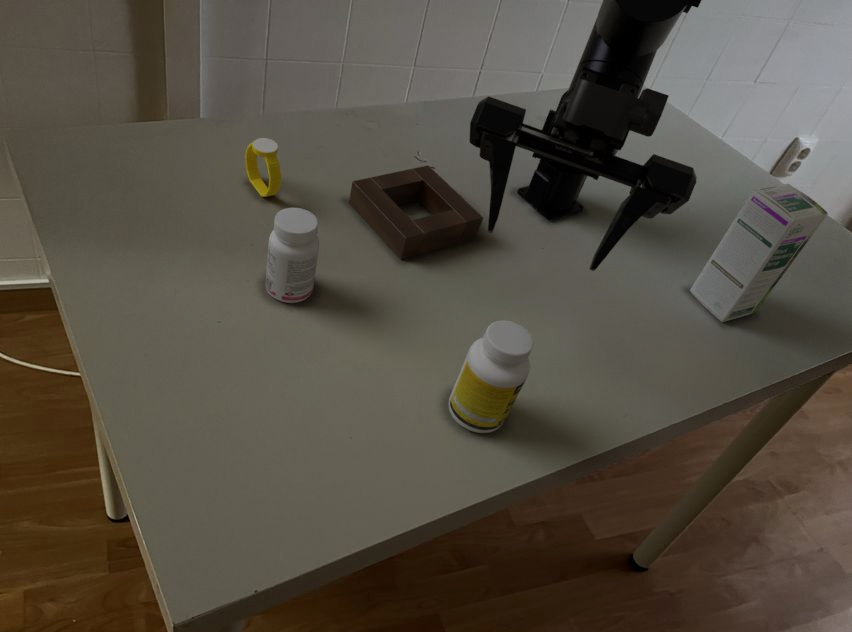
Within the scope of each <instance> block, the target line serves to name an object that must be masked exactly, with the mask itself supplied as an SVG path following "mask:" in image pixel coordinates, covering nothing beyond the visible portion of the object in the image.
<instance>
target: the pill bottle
mask: <svg viewBox="0 0 852 632" xmlns="http://www.w3.org/2000/svg"><path fill="white" fill-rule="evenodd" d="M318 230H319V220H318V218H317V217H316V215H315V214H314V213H313V212H311V211H309V210H307V209H304V208H301V207H286V208H283V209H281V210H279V211H278V212H277V213H276V214H275V216H274V223H273V230H271V233H270V235H269V238H268V244H267V245H268V247H267V259H266V270H265V271H266V272H265V289H266V292H267V293H268V294H269V295H270V296H271V297H272V298H273V299H275V300H277V301H279V302H283V303H288V304H297V303H300V302H303V301H305V300H307V299H308V298H309V297H310V296H311V295H312V293H313V290H314V285H315V279H316V272H317V265H318V264H317V263H318V256H319V251H320V239H319V237H318Z"/></svg>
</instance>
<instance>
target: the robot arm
mask: <svg viewBox="0 0 852 632" xmlns="http://www.w3.org/2000/svg"><path fill="white" fill-rule="evenodd" d="M701 3H702V0H602V2H601V5H600V8H599V10H598V12H597V17H596V18H595V21H594V24H593V27H592V29H591V32H590V34H589V36H588V39H587V42H586V44H585V46H584V49H583V52H582V54H581V56H580V60H579V61H578V65H577V67H576V69H575V72H574V75H573V77H572V79H571V82H570V85H569V87H568V89H567V90H566V91H565V92H564V93H563V94H562V95H561V96H560V97H561V98H560V100H559V102H558V104H557V106H556V110H554V109H549V111H548V114H547V116H546V118H545V121H544V124H543V125H542V128H541V129H540V128H537V127H535V126H532V125H529V124H527V123H524V121H525V117H526V113H527V109H526V108H523V107H520V106H518V105H515V104H511V103H509V102H506V101H503V100H500V99H497V98H494V97H491V96H486V97H484V98H483V99H481V100H480V101H478V104H477V105H476V108H475V110H474V113H473V115H472V118H471V120H470V123H469V144H471V145H472V146H473V147H475V148H478V149H479V157H480V158H481V159H483V160H485V161H487V162H488V163H489V176H490V177H489V178H490V179H489V180H490V197H489V198H490V199H489V201H490V202H489V210H488V211H489V212H488V222H487V223H488V224H487V233H489V234H493V232H494V230H495V227H496V225H497V222H498V219H499V216H500V212H501V208H502V203H503V199H504V196H505V193H506V192H505V191H506V188H507V183H508V180H509V175H510V171H511V167H512V164H513V160H514V155H515V151H516V148H519V149H523V150H526V151H529V152H532V156H531V157H532V158H534V159H539V162H538V164H537V166H536V169H535V170H534V171H533V175H532V176H531V179H530V182H529V185H525V186H522V187H519V188H518V189H517V192H516V193H517V194H518V195H519V196H520V197H521V198H522V199H524V201H525V202H527V203H528V204H529V205H530V206H531V207H532V208H534V209H535V210H536V211H537V212H538V213H539V214H540V215H541V216H543V217H544V218H545V219H546V220H548V221H554V220H557V219H560V218H563V217H568V216H571V215H574V214H577V213H581V212H583V211H584V209H585V206H584V205H583V204H582V203H581V202H579V201H578V200H577V199H578V198H579V195H580V194H581V191H582V188H583V186H584V184H585V182H586V180H587V178H588V177H589V178H592V179H593V180H595V181H598V180H599V178H600V177H602V178H605V179H608V180H610V181H613V182H616V183H619V184H621V185H624V186H627V187H630V190H629V193H628V194H629V195H628V196H627V197H626V198H625V199H624V200H623V201H622V202H621V203H620V205H619V207H618V209H617V211H616V213H615V214H614V216H613V218H612V221H611V223H610V224H609V225H608V228H607V230H606V231H605V234H604V236H603V238H602V239H601V241H600V243H599V245H598V247H597V249H596V250H595V253H594V255H593V257H592V260H591V263H590V266H589V271H592V272H594V271H596V270H597V268H598V267H599V266H600V265H601V264H602V262H603V261H604V260H605V259H606V257H607V256H608V255H609V254H610V252H611V251H612V250H613V249H614V248H615V247H616V246H617V244H618V243H619V241H620V240H621V239H622V238H623V236H624V235H625V234H626V233H627V232H628V231H629V230H630V229H631V227H632V226H633V225H635V224H636V222H637V221H639V220H640V219H641V218H646V219H651V220H652V219H654V218H656V216H658V215H659V214H663V215H672V214H673V213H674V212H676V211H677V210H679V209H680V208H681V207H683V206H684V205H685V204H687V203H688V202H689V201H690V199H691V196H692V195H693V191H694V188H695V186H696V184H697V175H696V172H695V169H694V167H692V166H689V165H686V164H684V163H680V162H678V161H675V160H672V159H669V158H666V157H663V156H660V155H658V154H655V153H652V155H651V156H650V157H649V159H647V160H646V162H645V163H644V164H643V165H642V164H641V163H637V162H634V161H631V160H629V159H625V158H623V157H620V156H617V153H618V151H621V150H622V149H623V148H624V145H625V143H626V140H627V138H628V135H629V133H630V132H633V133H636V134H639V135H641V136H645V137H648V138H649V137H652V136H653V135H654V133H655V131H656V128H657V126H658V125H659V122H660V120H661V117H662V115H663V113H664V110H665V107H666V105H667V102H668V100H669V97H670V95H669V94H666V93H663V92H660V91H657V90H654V89H651V88H648V87H647V88H645V89H643V87H644V84H645V82H646V80H647V77H648V74H649V72H650V70H651V67H652V64H653V62H654V59H655V57H656V54H657V52H658V50H659V49H660V48H661V47H662V46H663V45H664V43H665V42H666V40H667V39H668V37H669V35H670V34H671V32H672V30H673V28H674V27H675V26H676V24H677V22H678V20H679V19H680V17H681V16H682V14H683V13H684V14H688V13H689V12H690V11H691V8H692V7H694V8H699V6H700V5H701Z"/></svg>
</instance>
